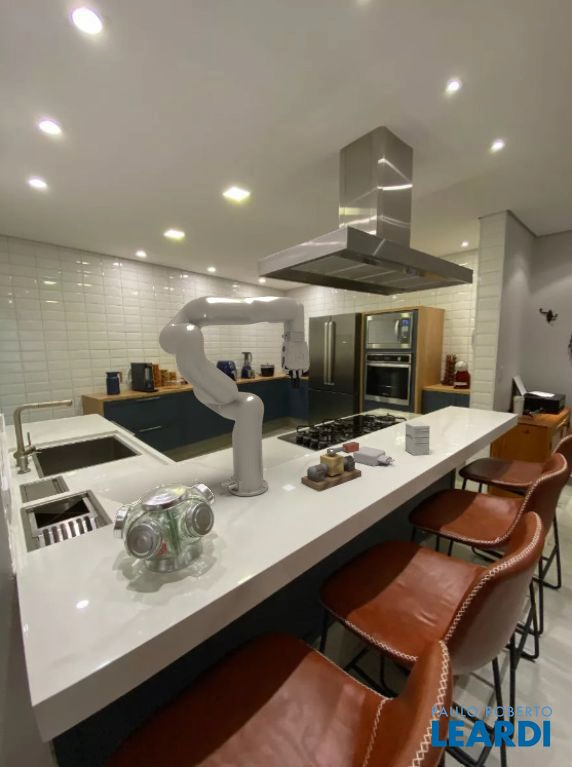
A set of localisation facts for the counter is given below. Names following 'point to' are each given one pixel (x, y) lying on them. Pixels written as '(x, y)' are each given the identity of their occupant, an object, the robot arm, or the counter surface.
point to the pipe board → (331, 480)
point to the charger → (371, 456)
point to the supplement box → (417, 438)
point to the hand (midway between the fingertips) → (295, 388)
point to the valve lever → (345, 448)
